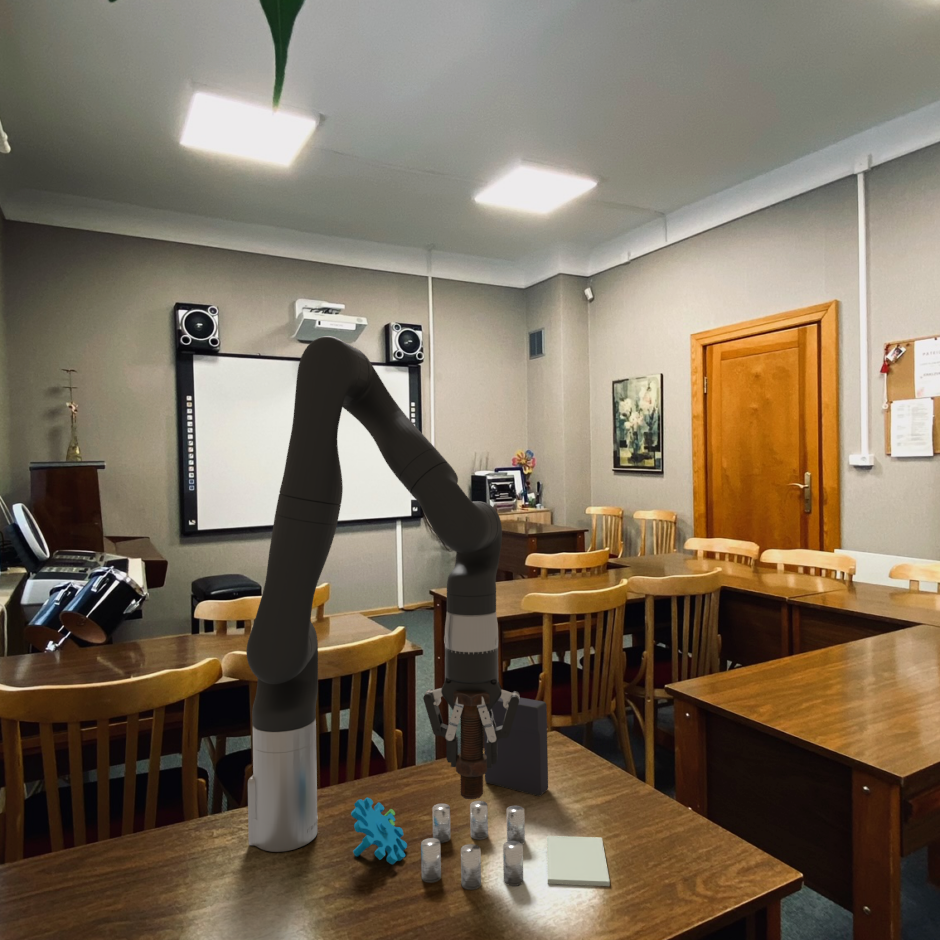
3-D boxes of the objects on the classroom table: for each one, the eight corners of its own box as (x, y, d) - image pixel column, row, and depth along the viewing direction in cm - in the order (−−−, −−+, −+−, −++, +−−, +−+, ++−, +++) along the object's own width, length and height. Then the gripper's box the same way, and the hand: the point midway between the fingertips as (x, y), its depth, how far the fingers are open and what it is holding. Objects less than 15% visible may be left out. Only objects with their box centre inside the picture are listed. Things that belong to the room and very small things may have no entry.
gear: (395, 868, 91) (347, 807, 94) (364, 899, 91) (318, 836, 94) (420, 838, 102) (377, 783, 104) (393, 865, 102) (350, 810, 105)
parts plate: (547, 883, 90) (547, 879, 90) (546, 839, 101) (546, 835, 101) (609, 886, 89) (609, 881, 89) (601, 841, 100) (601, 837, 100)
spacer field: (418, 887, 89) (417, 852, 90) (435, 829, 104) (435, 799, 104) (522, 891, 88) (522, 856, 88) (525, 832, 103) (524, 802, 103)
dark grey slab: (550, 788, 118) (548, 700, 118) (539, 798, 114) (537, 707, 114) (495, 774, 123) (493, 691, 124) (482, 784, 120) (481, 697, 120)
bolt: (489, 806, 93) (489, 695, 94) (452, 805, 93) (452, 695, 94) (489, 787, 99) (489, 682, 99) (454, 786, 99) (454, 682, 99)
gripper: (523, 638, 100) (523, 757, 99) (426, 636, 101) (426, 753, 101) (521, 651, 92) (522, 779, 92) (416, 648, 94) (416, 774, 93)
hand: (471, 764), depth 96 cm, fingers closed on bolt, 4 cm apart
